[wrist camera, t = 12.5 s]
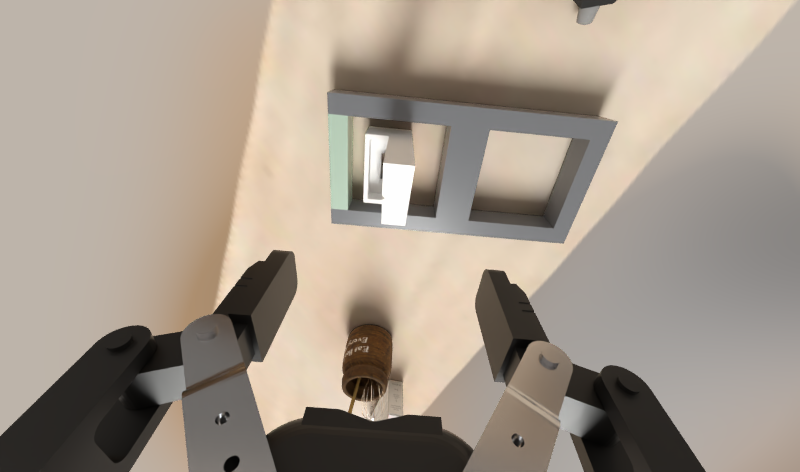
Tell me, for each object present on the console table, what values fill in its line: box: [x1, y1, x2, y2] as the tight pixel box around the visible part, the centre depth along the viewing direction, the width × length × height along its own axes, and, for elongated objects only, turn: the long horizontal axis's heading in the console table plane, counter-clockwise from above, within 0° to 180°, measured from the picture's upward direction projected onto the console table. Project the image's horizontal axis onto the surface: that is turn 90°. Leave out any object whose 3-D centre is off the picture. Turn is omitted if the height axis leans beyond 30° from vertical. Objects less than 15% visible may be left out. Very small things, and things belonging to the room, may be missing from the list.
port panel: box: [327, 89, 618, 244], centre depth 26 cm, size 11×22×2 cm, turn 85°
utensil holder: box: [342, 325, 392, 421], centre depth 34 cm, size 6×6×12 cm
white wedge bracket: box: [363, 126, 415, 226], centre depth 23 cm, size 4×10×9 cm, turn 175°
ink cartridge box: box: [370, 380, 403, 421], centre depth 42 cm, size 2×11×10 cm, turn 163°
